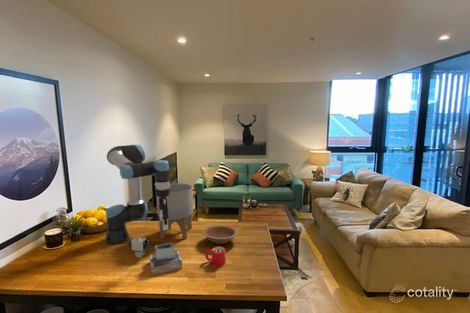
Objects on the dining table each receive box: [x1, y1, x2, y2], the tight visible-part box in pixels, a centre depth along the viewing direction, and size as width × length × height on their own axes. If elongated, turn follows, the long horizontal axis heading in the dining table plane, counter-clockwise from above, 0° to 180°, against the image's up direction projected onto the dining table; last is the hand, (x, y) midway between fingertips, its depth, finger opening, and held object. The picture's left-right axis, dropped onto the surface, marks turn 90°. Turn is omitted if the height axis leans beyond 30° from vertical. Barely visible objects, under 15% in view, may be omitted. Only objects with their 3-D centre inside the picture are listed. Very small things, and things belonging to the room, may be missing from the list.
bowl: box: [202, 224, 239, 245], centre depth 176 cm, size 24×24×8 cm
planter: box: [156, 182, 194, 240], centre depth 187 cm, size 25×25×34 cm
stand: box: [149, 248, 183, 276], centre depth 148 cm, size 14×16×5 cm
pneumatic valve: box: [128, 236, 151, 258], centre depth 158 cm, size 6×12×12 cm, turn 78°
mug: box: [204, 246, 226, 267], centre depth 151 cm, size 8×12×8 cm, turn 86°
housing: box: [154, 242, 176, 262], centre depth 148 cm, size 10×6×7 cm, turn 113°
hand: (163, 224), depth 147 cm, fingers open, 13 cm apart
